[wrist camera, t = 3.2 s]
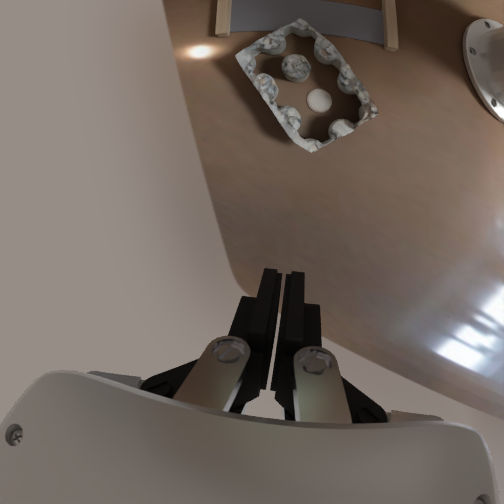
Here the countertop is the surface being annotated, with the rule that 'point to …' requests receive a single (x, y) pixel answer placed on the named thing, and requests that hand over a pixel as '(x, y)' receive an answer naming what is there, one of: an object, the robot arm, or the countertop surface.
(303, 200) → the countertop surface
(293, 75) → the egg carton
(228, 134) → the countertop surface
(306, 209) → the countertop surface
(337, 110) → the countertop surface
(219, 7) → the channel
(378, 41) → the strips
